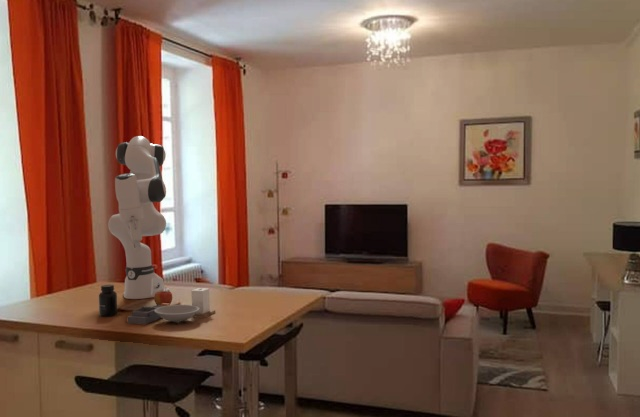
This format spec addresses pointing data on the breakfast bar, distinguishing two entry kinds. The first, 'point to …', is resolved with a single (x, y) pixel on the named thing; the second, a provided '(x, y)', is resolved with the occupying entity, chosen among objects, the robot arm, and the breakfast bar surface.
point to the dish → (176, 312)
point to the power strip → (145, 315)
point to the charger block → (201, 299)
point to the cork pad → (204, 314)
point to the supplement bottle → (107, 301)
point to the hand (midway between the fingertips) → (137, 249)
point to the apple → (163, 297)
